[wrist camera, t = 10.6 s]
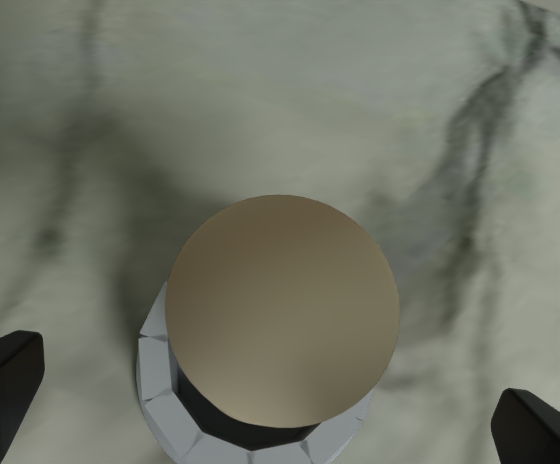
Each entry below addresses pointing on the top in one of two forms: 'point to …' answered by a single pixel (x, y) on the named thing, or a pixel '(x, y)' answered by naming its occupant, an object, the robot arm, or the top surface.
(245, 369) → the birch plug
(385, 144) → the top surface
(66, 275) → the top surface
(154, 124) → the top surface
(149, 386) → the round socket
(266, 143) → the top surface
